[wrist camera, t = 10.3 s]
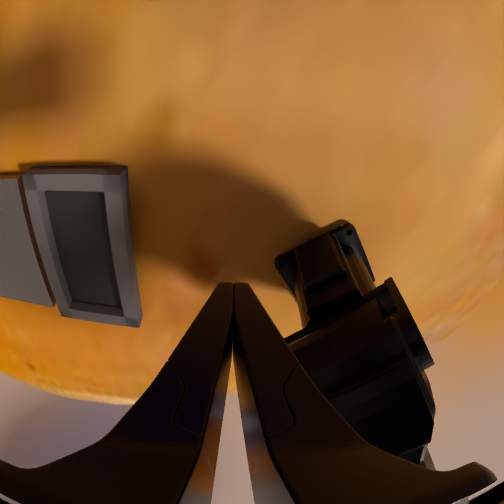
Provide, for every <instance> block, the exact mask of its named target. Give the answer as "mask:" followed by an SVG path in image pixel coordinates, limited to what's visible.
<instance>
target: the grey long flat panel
mask: <svg viewBox="0 0 504 504" xmlns="http://www.w3.org/2000/svg"><path fill="white" fill-rule="evenodd" d="M22 174H24V173H19V174H0V296H1V297H5V298H10V299H15V300H19V301H24V302H29V303H34V304H40V305H45V306H50V307H54V305H55V303H56V300H55V297H54V295H53V292H52V289H51V286H50V283H49V281H48V278H47V275H46V271H45V268H44V265H43V262H42V259H41V255H40V252H39V248H38V245H37V241H36V238H35V234H34V230H33V226H32V222H31V218H30V214H29V209H28V205H27V200H26V195H25V190H24V184H23V179H22Z"/></svg>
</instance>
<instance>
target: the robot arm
mask: <svg viewBox="0 0 504 504" xmlns="http://www.w3.org/2000/svg"><path fill="white" fill-rule="evenodd" d="M349 229H351V231H350V232H346V231H347V230H349ZM280 262H284V263H282V264H279V263H280ZM275 266H276V268H277V270H278V271H279V273H280V274H281V276H282V277H283V279H284V280H285V282H286V283H287V284H288V286H289V287H290V289H291V290H292V292H293V293H294V295H295V296H296V298H297V302H298V307H299V312H300V317H301V322H302V327H303V329H301V330H300V331H298V332H296V333H294V334H292V335H290V336H288V337H286V338H283V337H282V335H281V334H280V332H279V331H278V329H277V327H276V326H275V324H274V323H273V321H272V320H271V318H270V317H269V315H268V314H267V312H266V310H265V309H264V307H263V306H262V304H261V303H260V301H259V299H258V298H257V296H256V295H255V293H254V292H253V290H252V289H251V287H250V285H249V284H248V283H234V285H233V283H231V282H220V283H219V284H218V285H217V287H216V288H215V290H214V291H213V293H212V294H211V296H210V297H209V299H208V300H207V302H206V303H205V305H204V306H203V308H202V309H201V311H200V312H199V314H198V315H197V317H196V318H195V320H194V321H193V323H192V324H191V326H190V327H189V329H188V330H187V332H186V333H185V335H184V336H183V338H182V339H181V341H180V342H179V344H178V345H177V347H176V348H175V350H174V351H173V353H172V354H171V356H170V357H169V359H168V361H167V362H166V363H165V365H164V366H163V368H162V369H161V371H160V372H159V374H158V375H157V376H156V378H155V379H154V381H153V382H152V383H151V385H150V386H149V387H148V388H147V390H146V391H145V392H144V393H143V395H142V396H141V397H140V398H139V399H138V400H137V402H136V403H135V404H134V405H133V406H132V407H131V408H130V410H129V411H128V412H127V413H126V414H125V415H124V416H123V417H122V419H121V420H120V421H119V422H118V423H117V424H116V426H114V428H113V429H112V430H111V431H110V432H109V433H108V434H107V435H106V436H105V437H103V438H102V439H101V440H99V441H98V442H96V443H94V444H92V445H90V446H88V447H86V448H84V449H82V450H79V451H77V452H75V453H72V454H71V455H68V456H65V457H63V458H61V459H58V460H56V461H54V462H51V463H49V464H46V465H44V466H41V467H37V468H32V469H24V468H19V467H16V466H13V465H11V464H9V463H7V462H5V461H2V460H0V493H1V494H3V495H5V496H7V497H8V498H10V499H12V500H14V501H16V502H18V503H21V504H211V498H212V491H213V484H214V482H213V481H214V477H215V470H216V462H217V456H218V449H219V442H220V435H221V427H222V421H223V414H224V407H225V400H226V393H227V386H228V380H229V373H230V366H231V359H232V342H233V361H234V369H235V376H236V384H237V391H238V398H239V405H240V412H241V419H242V425H243V433H244V439H245V445H246V452H247V459H248V464H249V471H250V477H251V482H252V490H253V496H254V501H255V504H504V481H503V482H502V483H500V484H498V485H496V486H494V487H493V488H491V489H489V490H487V491H486V492H484V493H482V494H480V495H478V496H476V497H475V498H473V499H471V500H468V496H470V495H472V494H474V493H476V492H478V491H480V490H482V489H483V488H485V487H487V486H489V485H490V484H492V483H494V482H495V481H496V480H497V478H496V476H495V475H494V473H493V472H491V471H490V470H489V469H488V468H486V467H484V466H483V465H481V464H479V463H477V462H472V463H469V464H466V465H464V466H462V467H460V468H457V469H455V470H451V471H436V470H435V467H434V464H433V462H432V459H431V456H430V453H429V451H428V448H427V445H428V443H430V442H431V437H432V432H433V426H434V421H433V420H434V416H435V403H434V399H433V395H432V390H431V386H430V383H429V380H428V378H427V375H426V373H425V371H424V369H427V368H429V367H430V366H432V365H434V362H433V359H432V357H431V355H430V353H429V351H428V348H427V346H426V344H425V342H424V340H423V338H422V335H421V333H420V331H419V329H418V327H417V325H416V323H415V321H414V319H413V317H412V315H411V313H410V311H409V309H408V307H407V305H406V303H405V301H404V299H403V298H402V296H401V294H400V292H399V290H398V288H397V286H396V284H395V283H394V281H393V279H392V277H390V278H388V279H387V280H385V281H384V282H385V283H383V284H382V285H380V286H378V287H377V288H376V286H375V284H374V281H375V278H374V275H373V273H372V270H371V267H370V265H369V262H368V259H367V257H366V254H365V252H364V249H363V247H362V244H361V242H360V239H359V237H358V234H357V232H356V229H355V228H354V226H353V225H352V224H349V223H348V224H345V225H343V226H341V227H339V228H337V229H335V230H333V231H330V232H328V233H325V234H323V235H321V236H319V237H317V238H315V239H313V240H311V241H308V242H306V243H304V244H302V245H300V246H298V247H296V248H295V249H293V250H291V251H289V252H287V253H284V254H282V255H280V256H278V257H277V258H276V259H275ZM0 504H12V503H10V502H8V501H6V500H4V499H2V498H0Z"/></svg>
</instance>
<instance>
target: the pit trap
mask: <svg viewBox="0 0 504 504" xmlns="http://www.w3.org/2000/svg"><path fill="white" fill-rule="evenodd" d="M22 179H23V184H24V190H25V195H26V200H27V205H28V209H29V214H30V218H31V222H32V226H33V230H34V234H35V238H36V241H37V245H38V248H39V252H40V255H41V259H42V262H43V265H44V268H45V271H46V275H47V278H48V281H49V283H50V286H51V289H52V292H53V295H54V297H55V300H56V303H57V305H58V308H59V311H60V313H61V316H64V317H70V318H76V319H82V320H88V321H94V322H100V323H107V324H114V325H121V326H129V327H136V328H139V327H140V324H141V320H142V316H143V314H142V308H141V302H140V295H139V289H138V281H137V274H136V266H135V258H134V249H133V239H132V229H131V217H130V204H129V188H128V167H127V166H43V167H32V168H30V169H29V170H28V171H26V172H25V173H24V174H22Z"/></svg>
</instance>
